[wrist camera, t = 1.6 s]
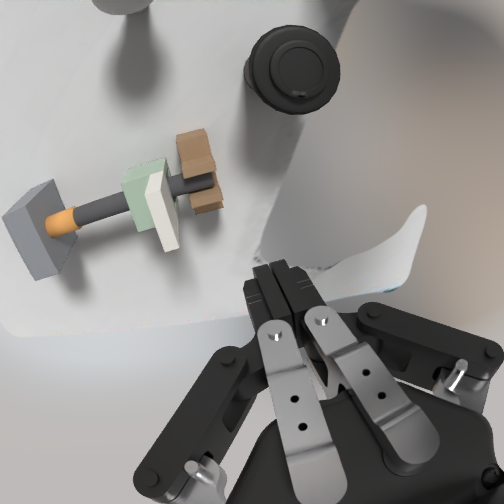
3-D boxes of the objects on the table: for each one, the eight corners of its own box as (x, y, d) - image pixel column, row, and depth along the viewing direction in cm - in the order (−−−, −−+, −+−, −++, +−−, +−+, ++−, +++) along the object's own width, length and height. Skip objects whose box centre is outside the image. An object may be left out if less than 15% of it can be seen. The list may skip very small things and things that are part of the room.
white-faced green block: (165, 157, 29) (160, 190, 20) (178, 200, 32) (179, 248, 23) (129, 168, 28) (109, 205, 20) (143, 210, 31) (132, 261, 23)
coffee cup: (253, 119, 31) (281, 134, 23) (216, 58, 27) (231, 47, 18) (314, 87, 30) (361, 93, 22) (282, 27, 26) (321, 10, 18)
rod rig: (203, 128, 30) (210, 141, 24) (218, 194, 35) (229, 224, 28) (26, 190, 28) (-4, 219, 22) (51, 245, 33) (30, 282, 26)
